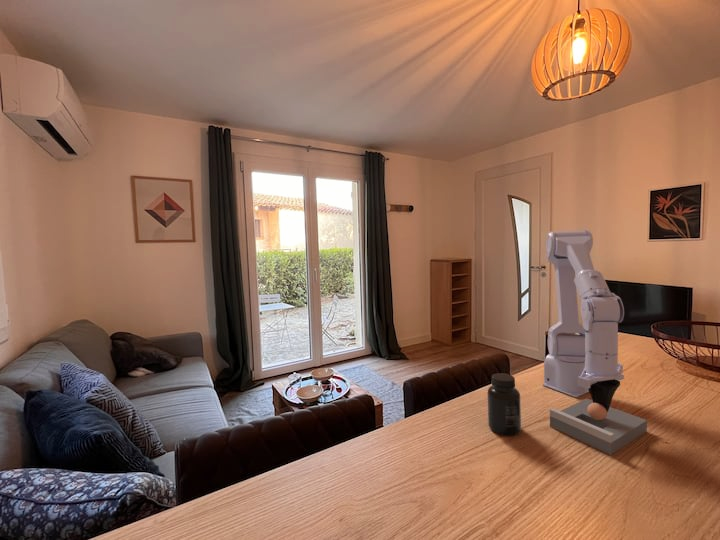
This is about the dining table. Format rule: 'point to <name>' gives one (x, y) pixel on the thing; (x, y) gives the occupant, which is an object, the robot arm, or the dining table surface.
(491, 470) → the dining table surface
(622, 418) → the hole deck
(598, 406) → the ball
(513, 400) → the supplement bottle
